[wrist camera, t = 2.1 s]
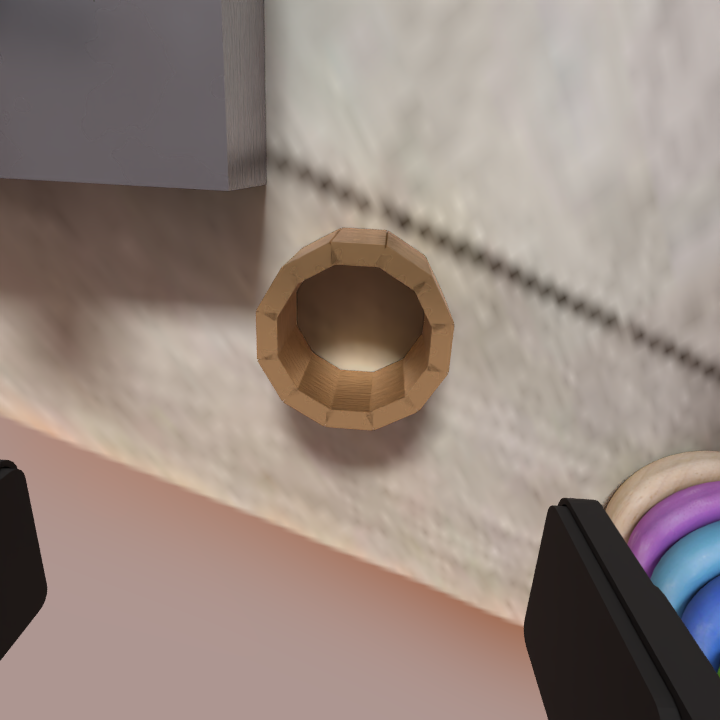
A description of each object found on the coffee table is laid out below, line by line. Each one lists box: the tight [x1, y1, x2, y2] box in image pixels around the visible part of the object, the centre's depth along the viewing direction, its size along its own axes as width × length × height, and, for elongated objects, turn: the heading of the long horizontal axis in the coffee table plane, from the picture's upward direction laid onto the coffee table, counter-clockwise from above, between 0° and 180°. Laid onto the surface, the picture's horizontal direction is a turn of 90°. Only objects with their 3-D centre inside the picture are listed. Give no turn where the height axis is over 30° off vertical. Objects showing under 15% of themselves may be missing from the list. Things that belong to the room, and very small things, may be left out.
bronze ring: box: [256, 228, 454, 431], centre depth 20 cm, size 7×7×4 cm
